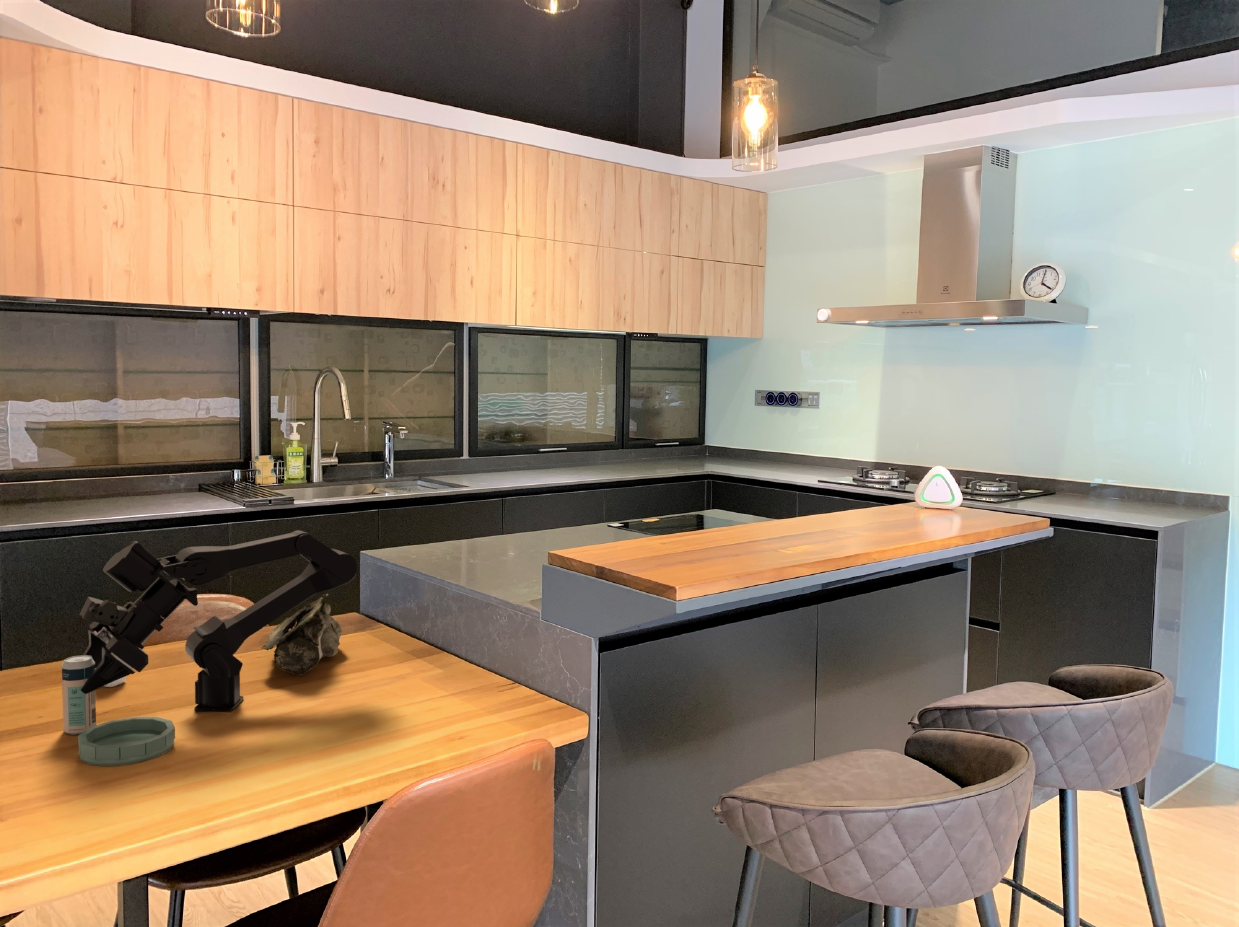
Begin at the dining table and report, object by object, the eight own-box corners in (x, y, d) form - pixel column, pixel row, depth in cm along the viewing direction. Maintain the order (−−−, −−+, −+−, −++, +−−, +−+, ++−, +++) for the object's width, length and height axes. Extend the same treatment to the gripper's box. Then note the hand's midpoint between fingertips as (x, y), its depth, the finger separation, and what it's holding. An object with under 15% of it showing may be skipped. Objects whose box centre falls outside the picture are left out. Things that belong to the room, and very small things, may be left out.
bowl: (186, 733, 152) (186, 716, 152) (153, 765, 139) (152, 747, 139) (104, 733, 151) (103, 717, 151) (62, 766, 138) (61, 748, 138)
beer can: (89, 723, 156) (87, 652, 155) (101, 730, 153) (100, 658, 152) (57, 731, 152) (56, 658, 151) (69, 738, 149) (67, 664, 148)
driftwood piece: (292, 707, 179) (347, 652, 179) (241, 663, 177) (297, 607, 177) (323, 660, 207) (371, 612, 206) (280, 621, 205) (328, 573, 205)
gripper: (102, 570, 161) (28, 642, 155) (124, 590, 146) (44, 670, 140) (153, 609, 166) (83, 680, 160) (179, 632, 152) (104, 711, 146)
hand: (78, 684), depth 152 cm, fingers open, 9 cm apart
